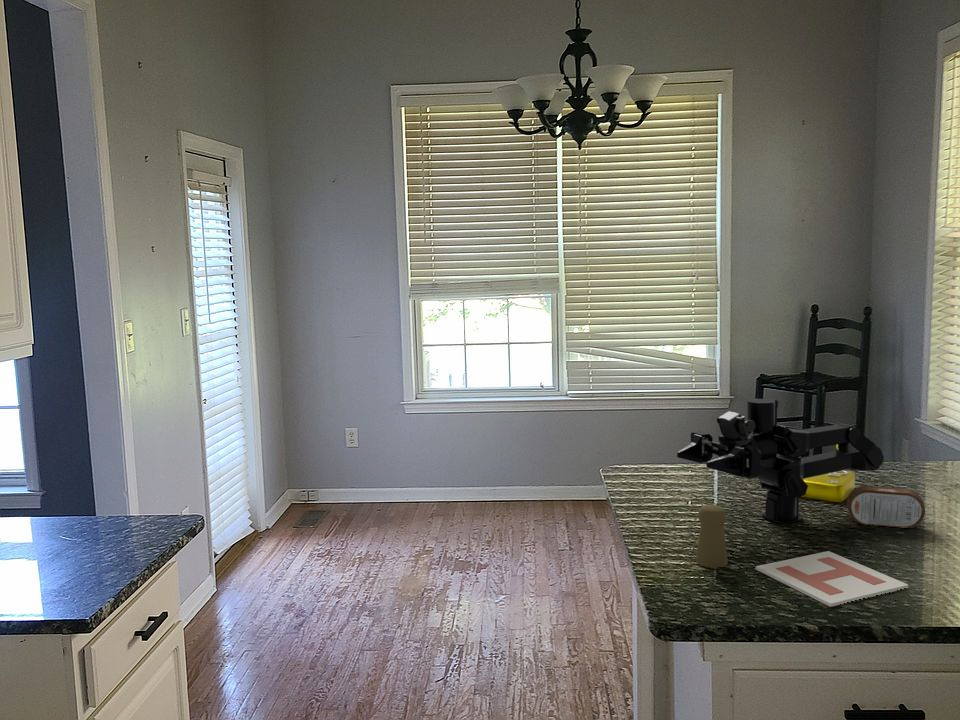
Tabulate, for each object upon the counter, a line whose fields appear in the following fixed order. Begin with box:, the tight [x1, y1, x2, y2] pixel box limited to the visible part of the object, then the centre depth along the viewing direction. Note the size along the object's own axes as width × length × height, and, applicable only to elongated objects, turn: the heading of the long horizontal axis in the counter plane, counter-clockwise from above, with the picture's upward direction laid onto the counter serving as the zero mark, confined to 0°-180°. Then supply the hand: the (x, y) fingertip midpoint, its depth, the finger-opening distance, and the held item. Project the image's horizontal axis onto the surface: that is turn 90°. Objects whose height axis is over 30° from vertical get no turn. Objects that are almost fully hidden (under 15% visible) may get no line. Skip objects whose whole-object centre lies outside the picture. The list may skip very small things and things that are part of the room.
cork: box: [694, 504, 729, 569], centre depth 157 cm, size 6×6×11 cm
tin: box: [846, 485, 926, 529], centre depth 175 cm, size 15×3×8 cm, turn 71°
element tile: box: [800, 470, 856, 503], centre depth 202 cm, size 15×15×5 cm
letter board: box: [755, 550, 909, 608], centre depth 149 cm, size 18×18×1 cm
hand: (691, 459), depth 169 cm, fingers open, 9 cm apart
